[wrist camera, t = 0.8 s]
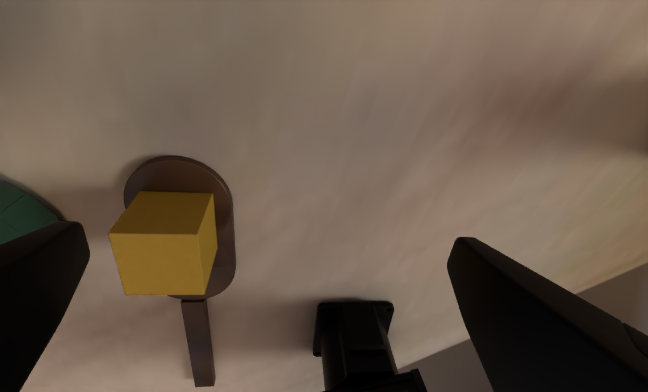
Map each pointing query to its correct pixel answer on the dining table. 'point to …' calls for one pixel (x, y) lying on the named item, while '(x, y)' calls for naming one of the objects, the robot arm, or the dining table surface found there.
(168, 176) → the brown oval paddle
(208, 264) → the block
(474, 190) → the dining table surface
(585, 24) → the dining table surface
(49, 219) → the green pet bowl
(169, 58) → the dining table surface
